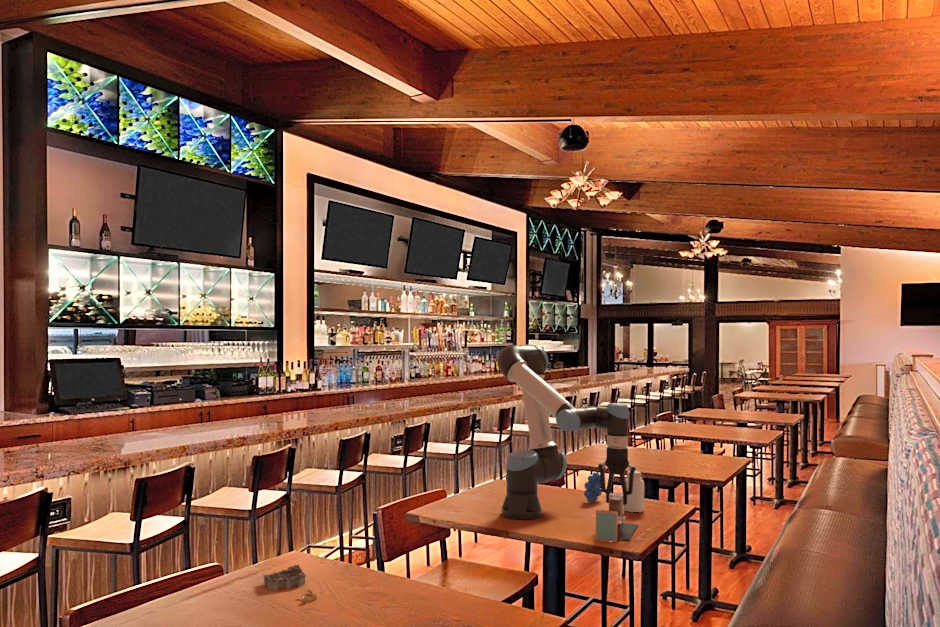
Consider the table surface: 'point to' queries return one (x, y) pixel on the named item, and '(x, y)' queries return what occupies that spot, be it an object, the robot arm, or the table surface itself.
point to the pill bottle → (635, 494)
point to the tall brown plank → (616, 506)
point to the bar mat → (626, 531)
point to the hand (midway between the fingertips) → (616, 512)
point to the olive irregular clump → (307, 596)
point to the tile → (606, 525)
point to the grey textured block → (285, 578)
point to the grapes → (593, 487)
